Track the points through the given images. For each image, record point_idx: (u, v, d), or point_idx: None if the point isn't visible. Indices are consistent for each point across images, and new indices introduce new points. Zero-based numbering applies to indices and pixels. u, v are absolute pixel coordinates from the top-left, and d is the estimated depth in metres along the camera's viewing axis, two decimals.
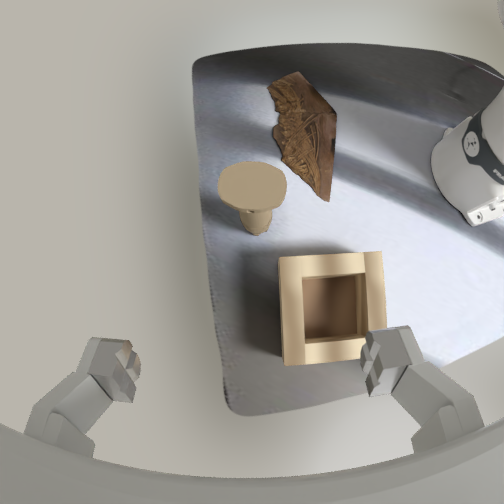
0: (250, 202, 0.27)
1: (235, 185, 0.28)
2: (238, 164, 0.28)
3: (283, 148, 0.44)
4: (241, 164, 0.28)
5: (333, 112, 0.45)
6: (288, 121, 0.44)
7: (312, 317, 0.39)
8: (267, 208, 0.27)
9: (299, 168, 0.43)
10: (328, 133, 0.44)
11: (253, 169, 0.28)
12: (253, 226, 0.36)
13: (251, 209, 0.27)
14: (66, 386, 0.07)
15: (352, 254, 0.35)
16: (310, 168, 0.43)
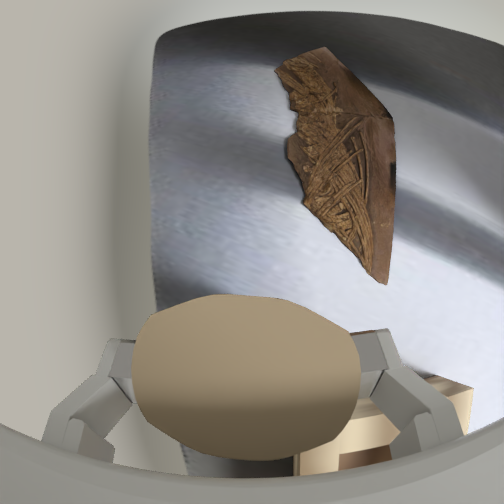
0: (239, 442, 0.07)
1: (185, 383, 0.07)
2: (194, 305, 0.08)
3: (307, 180, 0.24)
4: (205, 306, 0.08)
5: (387, 115, 0.25)
6: (314, 128, 0.24)
7: None
8: (290, 450, 0.07)
9: (338, 221, 0.23)
10: (383, 152, 0.24)
11: (248, 328, 0.08)
12: None
13: (241, 457, 0.07)
14: (86, 390, 0.07)
15: None
16: (355, 220, 0.23)
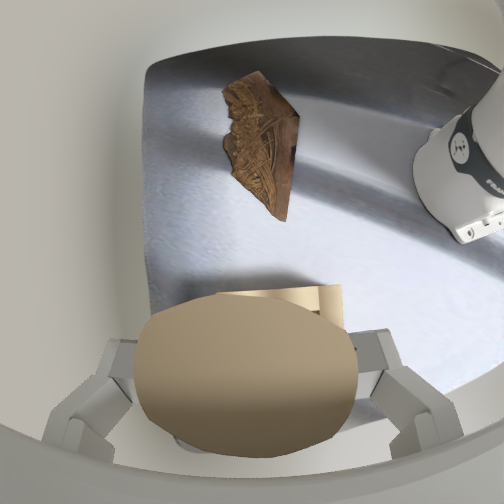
0: (238, 439, 0.07)
1: (186, 381, 0.08)
2: (195, 305, 0.08)
3: (235, 160, 0.39)
4: (205, 306, 0.08)
5: (296, 115, 0.40)
6: (242, 128, 0.40)
7: None
8: (289, 448, 0.07)
9: (252, 183, 0.38)
10: (288, 139, 0.39)
11: (247, 327, 0.08)
12: None
13: (241, 454, 0.07)
14: (86, 390, 0.07)
15: (304, 289, 0.30)
16: (264, 182, 0.38)
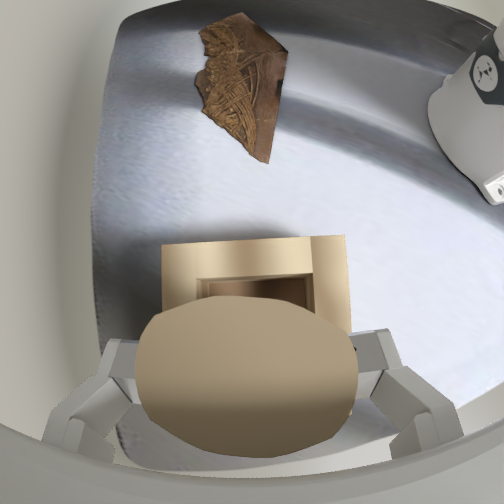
0: (240, 439, 0.07)
1: (187, 382, 0.08)
2: (196, 306, 0.08)
3: (207, 96, 0.29)
4: (206, 307, 0.08)
5: (283, 50, 0.30)
6: (218, 63, 0.30)
7: None
8: (290, 448, 0.08)
9: (226, 119, 0.28)
10: (273, 73, 0.29)
11: (248, 328, 0.08)
12: None
13: (242, 454, 0.07)
14: (86, 390, 0.07)
15: (289, 240, 0.21)
16: (242, 118, 0.28)
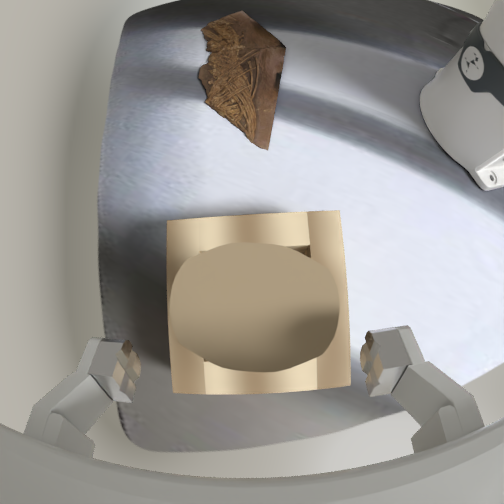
0: (250, 355, 0.11)
1: (211, 309, 0.11)
2: (218, 250, 0.11)
3: (210, 88, 0.30)
4: (226, 251, 0.11)
5: (281, 46, 0.31)
6: (220, 58, 0.31)
7: None
8: (290, 365, 0.11)
9: (227, 109, 0.29)
10: (272, 67, 0.30)
11: (257, 265, 0.11)
12: None
13: None
14: (66, 386, 0.07)
15: (287, 215, 0.22)
16: (243, 108, 0.30)
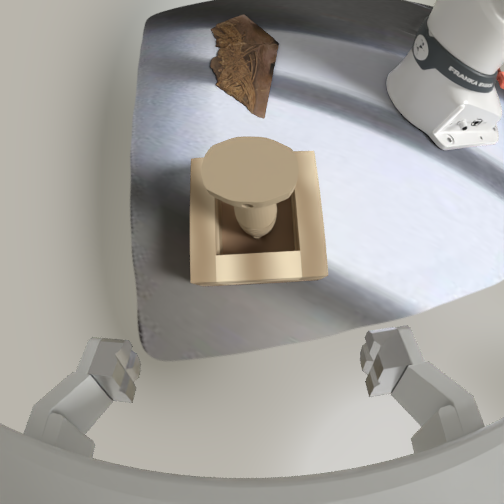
0: (247, 192, 0.19)
1: (225, 169, 0.19)
2: (230, 141, 0.20)
3: (219, 75, 0.39)
4: (234, 140, 0.20)
5: (275, 43, 0.39)
6: (227, 52, 0.39)
7: (238, 236, 0.34)
8: (271, 201, 0.19)
9: (233, 89, 0.38)
10: (268, 59, 0.39)
11: (251, 147, 0.19)
12: (252, 227, 0.27)
13: (248, 202, 0.19)
14: (66, 386, 0.07)
15: None
16: (245, 89, 0.38)
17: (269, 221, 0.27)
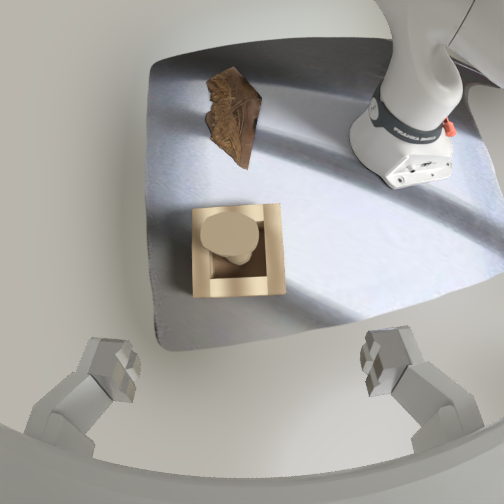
0: (227, 249, 0.32)
1: (214, 234, 0.33)
2: (217, 214, 0.33)
3: (213, 129, 0.52)
4: (220, 214, 0.33)
5: (259, 97, 0.53)
6: (219, 107, 0.53)
7: (226, 263, 0.47)
8: (241, 254, 0.33)
9: (224, 144, 0.51)
10: (252, 114, 0.52)
11: (230, 219, 0.33)
12: (234, 261, 0.41)
13: (228, 255, 0.32)
14: (66, 386, 0.07)
15: (252, 206, 0.44)
16: (233, 143, 0.51)
17: (245, 257, 0.41)
